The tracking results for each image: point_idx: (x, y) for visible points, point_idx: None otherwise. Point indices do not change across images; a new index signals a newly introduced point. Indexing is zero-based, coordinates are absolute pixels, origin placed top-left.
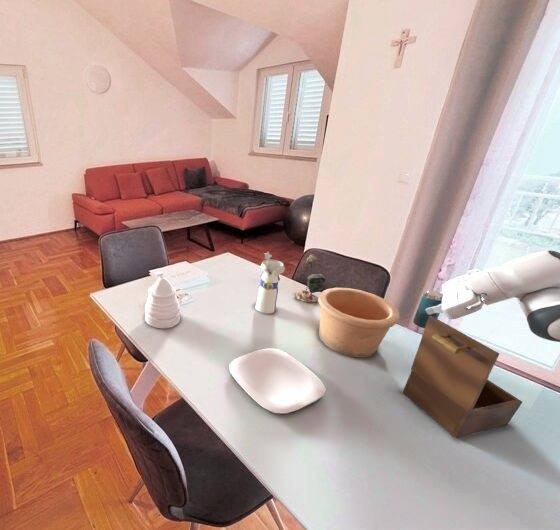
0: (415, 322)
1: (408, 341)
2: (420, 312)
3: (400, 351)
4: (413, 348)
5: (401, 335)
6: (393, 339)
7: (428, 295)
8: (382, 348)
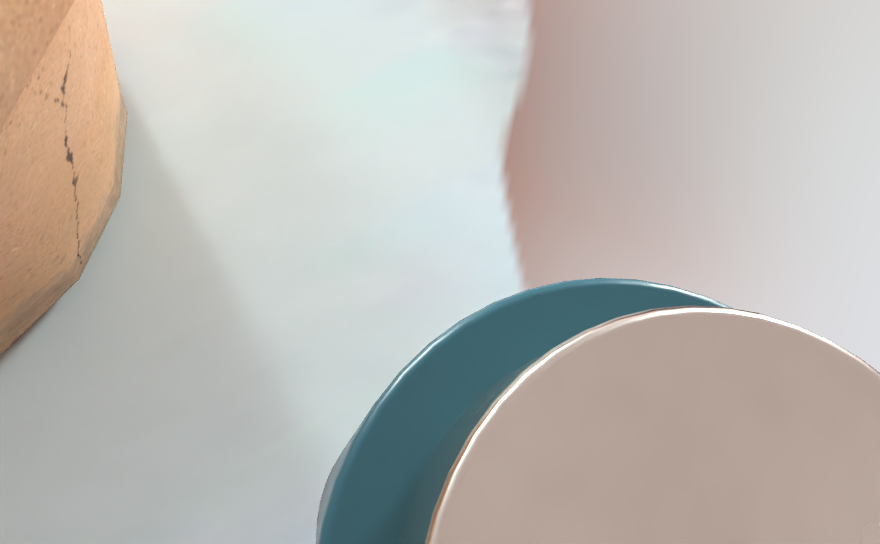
0: (332, 468)
1: None
2: (326, 487)
3: (187, 499)
4: None
5: None
6: (335, 343)
7: (430, 504)
8: (65, 388)
